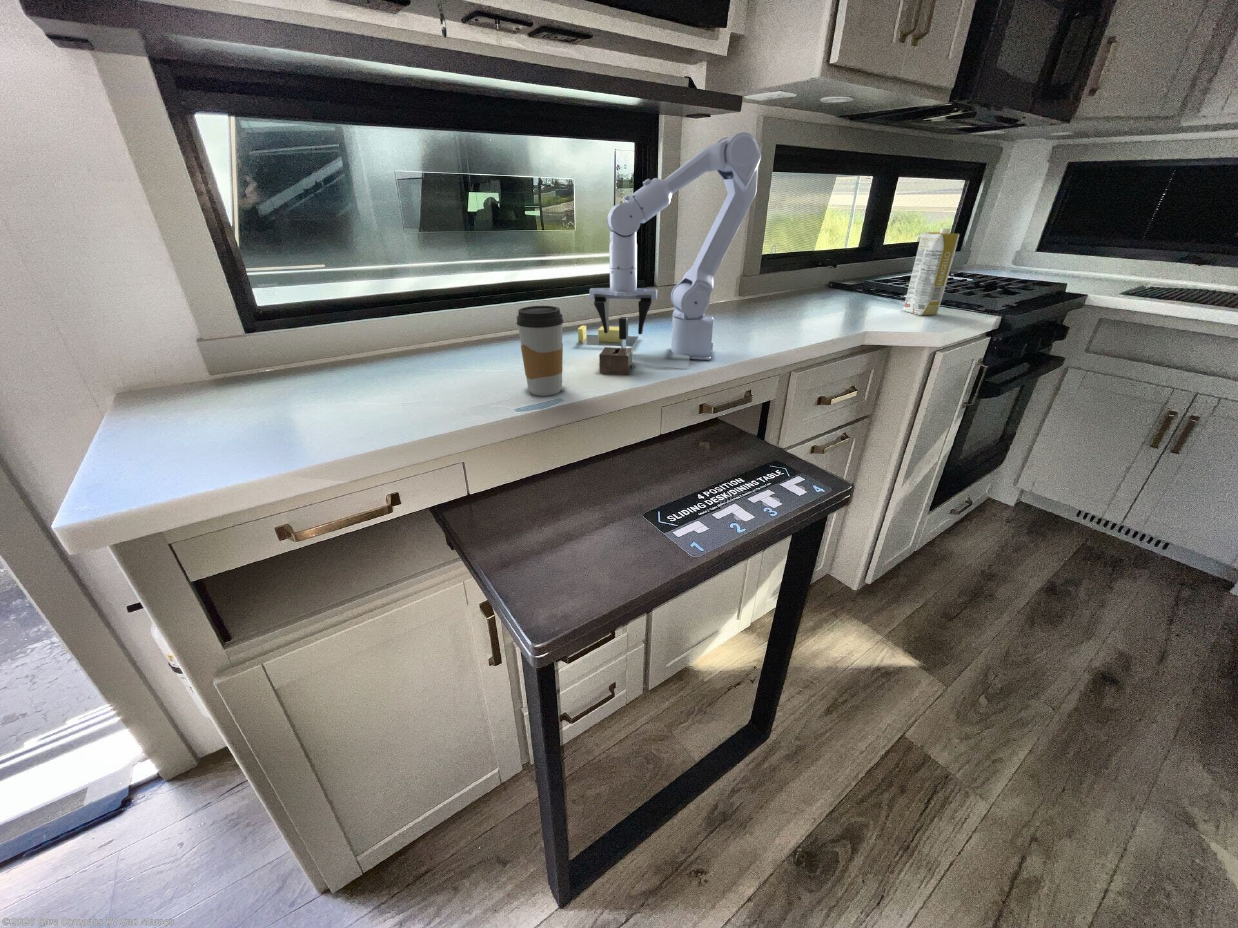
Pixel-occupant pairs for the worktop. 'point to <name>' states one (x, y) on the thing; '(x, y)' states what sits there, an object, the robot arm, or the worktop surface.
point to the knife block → (616, 360)
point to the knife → (623, 330)
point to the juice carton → (930, 272)
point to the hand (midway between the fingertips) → (623, 332)
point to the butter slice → (582, 333)
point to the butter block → (609, 335)
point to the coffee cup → (541, 348)
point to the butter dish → (594, 341)
